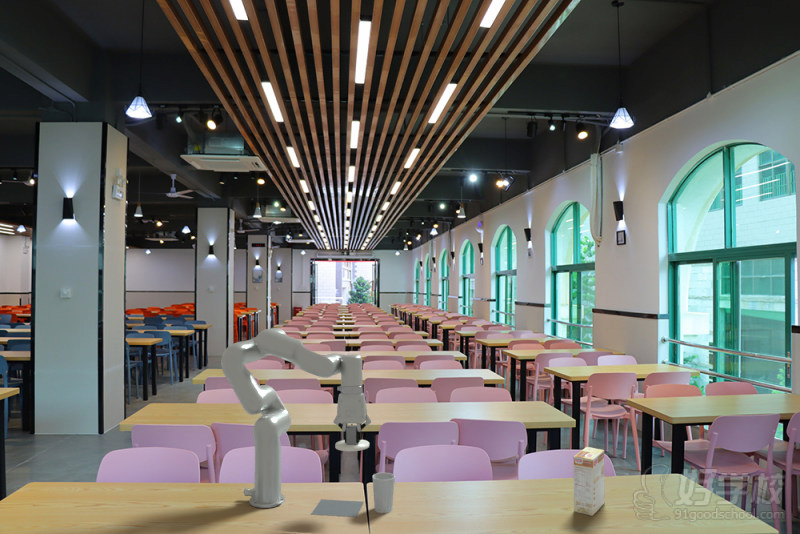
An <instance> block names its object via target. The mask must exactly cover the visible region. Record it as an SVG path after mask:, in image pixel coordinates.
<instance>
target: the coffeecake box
mask: <svg viewBox="0 0 800 534" xmlns="http://www.w3.org/2000/svg"><path fill="white" fill-rule="evenodd" d="M605 503H606V500H605V450H604V449H600V448H595V447H589V446H585V447H584V448H583V449H581V450H580V451H579V452H578V453H576V454H575V455H574V456H573V512H575V513H579V514H584V515H588V516H592V517H593V516H594V515H595V514H596V513H597V512H598V511H599V510H601V508H602V506H604V505H605Z"/></svg>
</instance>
